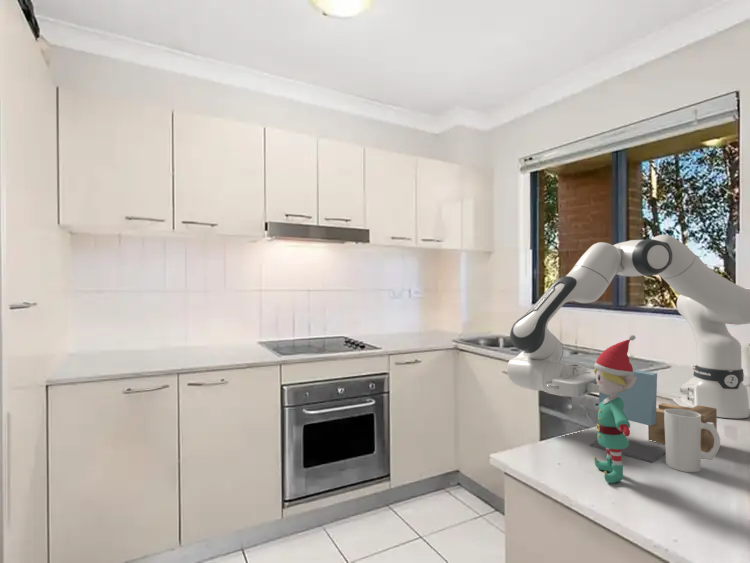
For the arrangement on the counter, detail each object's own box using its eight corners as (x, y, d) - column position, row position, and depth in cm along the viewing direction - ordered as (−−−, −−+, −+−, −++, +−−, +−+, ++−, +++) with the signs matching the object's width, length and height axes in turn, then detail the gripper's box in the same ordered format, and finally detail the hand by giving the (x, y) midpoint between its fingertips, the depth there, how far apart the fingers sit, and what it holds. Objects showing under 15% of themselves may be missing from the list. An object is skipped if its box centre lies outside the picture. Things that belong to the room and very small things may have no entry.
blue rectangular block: (598, 412, 113) (599, 366, 113) (604, 410, 115) (605, 364, 115) (650, 425, 104) (652, 374, 104) (655, 423, 106) (657, 373, 106)
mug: (661, 466, 98) (660, 412, 99) (668, 458, 103) (667, 406, 103) (718, 480, 91) (717, 422, 91) (722, 470, 96) (722, 415, 96)
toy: (586, 459, 103) (584, 330, 103) (623, 462, 101) (621, 330, 101) (608, 494, 86) (606, 339, 86) (653, 497, 84) (651, 340, 84)
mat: (590, 445, 112) (590, 443, 112) (607, 436, 118) (607, 435, 118) (651, 462, 101) (651, 460, 101) (667, 451, 107) (667, 450, 107)
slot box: (648, 440, 115) (648, 405, 115) (663, 432, 121) (662, 399, 121) (704, 454, 105) (703, 416, 106) (716, 444, 112) (716, 408, 112)
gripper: (541, 372, 116) (594, 381, 105) (579, 363, 129) (630, 371, 118) (541, 396, 116) (594, 408, 105) (579, 385, 129) (630, 394, 118)
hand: (613, 388), depth 112 cm, fingers closed on blue rectangular block, 3 cm apart
